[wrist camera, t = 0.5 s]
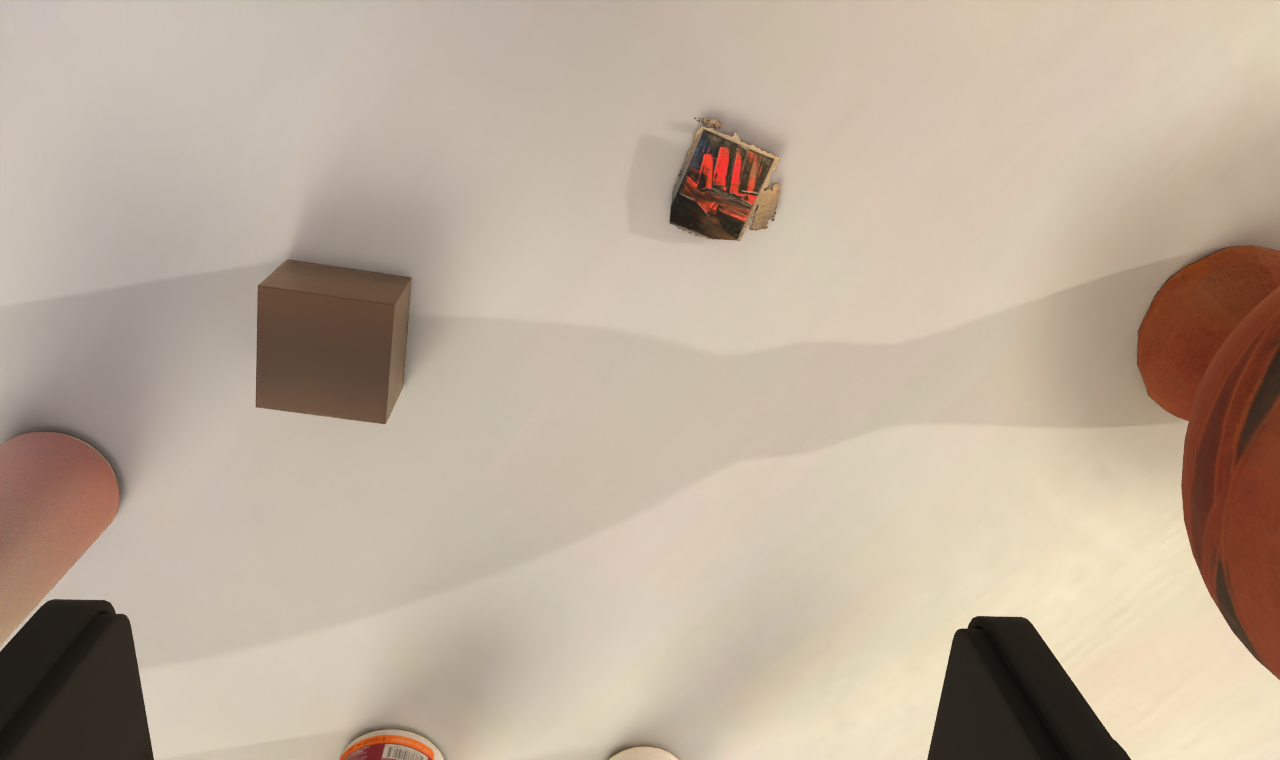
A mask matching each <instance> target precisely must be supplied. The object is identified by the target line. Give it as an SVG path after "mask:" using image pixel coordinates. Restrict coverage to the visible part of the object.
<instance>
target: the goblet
mask: <svg viewBox="0 0 1280 760" xmlns="http://www.w3.org/2000/svg"><path fill="white" fill-rule="evenodd" d="M1137 364H1138V367H1139V370H1140V372H1141V375H1142V378H1143V380H1144V383H1145V386H1146V388H1147V392H1148V395H1149V396H1150V397H1151V398H1152V399H1153V400H1154V401H1155V402H1156V403H1158V404H1159V405H1160V406H1161V407H1162V408H1163V409H1165V410H1166V411H1168V412H1169V413H1171V414H1173V415H1175V416H1177V417H1179V418H1181V419H1184V420H1187V421H1189V424H1188V428H1187V433H1186V437H1185V444H1184V455H1183V470H1182V499H1183V511H1184V522H1185V525H1186V529H1187V533H1188V537H1189V541H1190V545H1191V549H1192V553H1193V556H1194V558H1195V561H1196V563H1197V566H1198V568H1199V570H1200V573H1201V575H1202V578H1203V580H1204V583H1205V585H1206V587H1207V589H1208V591H1209V593H1210V595H1211V597H1212V598H1213V600H1214V602H1215V603H1216V605H1217V607H1218V608H1219V610H1220V612H1221V613H1222V615H1223V617H1224V618H1225V620H1226V621H1227V623H1228V625H1229V626H1230V628H1231V630H1232V631H1233V632H1234V634H1235V635H1236V636H1237V637H1238V638H1239V640H1240V641H1241V642H1242V643H1243V644H1244V645H1245V647H1246V648H1247V649H1248V650H1249V651H1250V653H1251V654H1252V655H1253V656H1254V657H1255V658H1256V659H1257V660H1258V661H1259V662H1260V663H1261V664H1262V665H1263V666H1265V667H1266V668H1267V669H1268V670H1269V671H1270V672H1271V673H1272V674H1274V675H1275V676H1276V677H1277V678H1278V679H1279V680H1280V251H1278V250H1273V249H1268V248H1262V247H1257V246H1252V245H1251V246H1235V247H1227V248H1225V249H1222V250H1220V251H1218V252H1216V253H1214V254H1211V255H1209V256H1207V257H1205V258H1203V259H1201V260H1199V261H1197V262H1195V263H1193V264H1191V265H1189V266H1187V267H1185V268H1183V269H1181V270H1180V271H1179V272H1177V273H1176V274H1175V275H1174V276H1173V277H1171V278H1170V279H1169V280H1168V281H1167V282H1166V283H1165V284H1164V286H1163V287H1162V288H1161V289H1160V291H1159V292H1158V293H1157V295H1156V296H1155V297H1154V300H1153V302H1152V304H1151V306H1150V308H1149V310H1148V312H1147V314H1146V316H1145V318H1144V320H1143V322H1142V324H1141V327H1140V329H1139V331H1138V352H1137Z"/></svg>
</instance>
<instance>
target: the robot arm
mask: <svg viewBox="0 0 1280 760" xmlns="http://www.w3.org/2000/svg"><path fill="white" fill-rule="evenodd" d="M0 760H154V758H153V752H152V746H151V740H150V735H149V729H148V723H147V717H146V711H145V705H144V700H143V694H142V688H141V682H140V676H139V670H138V664H137V659H136V653H135V647H134V641H133V635H132V629H131V625H130V621H129V619H128V618H127V616H126V615H123V614H116V613H115V610H114V608H113V606H112V605H111V603H110V602H107V601H105V600H60V599H54V600H50V601H47V602H46V603H45V604H44V605H43V606H41V607H40V608H39V610H38V611H37V612H36V613H35V614H34V615H33V616H32V617H31V618H30V620H29V621H28V622H27V623H26V624H25V625H24V626H23V627H22V628H21V629H20V631H19V632H18V633H17V634H16V635H15V636H14V637H13V638H12V639H11V641H10V642H9V643H8V644H7V645H6V646H5V647H4V648H3V649H2V650H1V652H0ZM927 760H1131V759H1130V757H1129V756H1128V755H1127V753H1126V752H1125V751H1124V749H1123V748H1122V747H1121V746H1120V745H1119V744H1118V743H1117V742H1116V741H1115V740H1114V739H1112V737H1111V736H1110V734H1109V733H1108V731H1107V730H1106V729H1105V727H1104V726H1103V724H1102V723H1101V721H1100V720H1099V719H1098V717H1097V716H1096V714H1095V713H1094V712H1093V710H1092V709H1091V707H1090V706H1089V704H1088V703H1087V702H1086V700H1085V699H1084V697H1083V696H1082V694H1081V693H1080V692H1079V690H1078V689H1077V687H1076V686H1075V684H1074V683H1073V682H1072V680H1071V679H1070V677H1069V676H1068V675H1067V673H1066V672H1065V670H1064V669H1063V667H1062V666H1061V665H1060V663H1059V662H1058V660H1057V659H1056V657H1055V656H1054V655H1053V653H1052V652H1051V650H1050V649H1049V647H1048V646H1047V645H1046V643H1045V642H1044V640H1043V639H1042V638H1041V636H1040V635H1039V633H1038V632H1037V630H1036V629H1035V628H1034V626H1033V625H1032V624H1031V623H1030V621H1029V620H1028V619H1026V618H1023V617H990V616H977V617H975V618H973V619H972V620H971V622H970V623H969V626H968V629H959V630H957V631H956V633H955V635H954V638H953V642H952V646H951V651H950V656H949V660H948V665H947V670H946V674H945V679H944V684H943V689H942V693H941V698H940V703H939V707H938V712H937V717H936V721H935V726H934V731H933V736H932V740H931V745H930V750H929V754H928V759H927Z"/></svg>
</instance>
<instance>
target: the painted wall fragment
mask: <svg viewBox="0 0 1280 760" xmlns="http://www.w3.org/2000/svg"><path fill="white" fill-rule="evenodd" d="M696 119H697V118H696ZM694 120H695V118H694ZM697 122H700V118H699V121H698V120H697ZM701 122H703V124H704V125H706V126H708V127H710V128H706V127H701V129H700V130H698V131H697V134H696V135H694V141H693V142H694V143H693V145H692V149H691V150H689V151H688V156H687V161H686V163H685V165H684V169H683V172H681V173H682V174H681V173H680V174H679V175H678V176H680V179H679V180H678V182H677V184H675V186H674V190H673V196H672V205H671V215H670V224H673V225H675V226H677V227H678V229H680V228H681V229H683V230H682V231H684V230H685V231H689V232H690V234H691V233H692V232H693V233H695V234H696V235H697V236H698V237H699V236H701V237H706V238H707V239H712V240H713V239H718V240H719V239H724V240H739V241H740V239H741V237H742V235H743V234H744V231H745V229H746V228H747V225H749V224H750V221H751V216H754V219H753V221H755V222H754V223H753V224H752V225H753V227H751V228H750V227H749V229H750V230H760V229H767V228H768V226H767V224H768V222H767V221H768V220H769V219H771V221H774V218H773V217H775V214H776V212H775V209H776V208H777V203H778V195H779V184H773V190H771V189H767V190H766V191H765V192H764V188H767V187H768V186H769V182H770V176H771V174H772V172H773V171H775V169H776V168H777V162H778V161H779V158H778V157H775V156H774V155H773V154H772V153H770V154H768V153H767V152H766V151H761V150H760V149H759V148H756V147H755V145H751V146H750V145H747V144H746V143H744V142H741V140H740V139H738V134H737V133H734V136H733V137H730V136H729V135H723V134H721V133H719V132H718V131H715V130H713V129H712V128H711V127H713V128H715V127H716V126H718V127H719V129H720V128H721V127H723V125H722V126H721V124H720V122H719V120H716V119H714V120H713V119H704V118H703V119H701ZM716 128H717V127H716ZM680 171H681V170H680ZM758 202H759V203H758ZM757 204H758V209H757V211H756V213H755V211H754V210H755V209H756V207H757ZM687 233H688V232H687ZM693 235H694V234H693ZM696 235H695V236H696Z"/></svg>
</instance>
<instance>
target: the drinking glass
mask: <svg viewBox="0 0 1280 760" xmlns="http://www.w3.org/2000/svg"><path fill="white" fill-rule="evenodd" d="M609 760H678V759H677V758H676V757H675V756H674V755H672V754H671V753H669V752H667V751H665V750H662V749H659V748H655V747H634V748H629V749H626V750H624V751H621V752H619V753H617V754H616V755H614V756H613V757H611V758H610V759H609Z"/></svg>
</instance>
